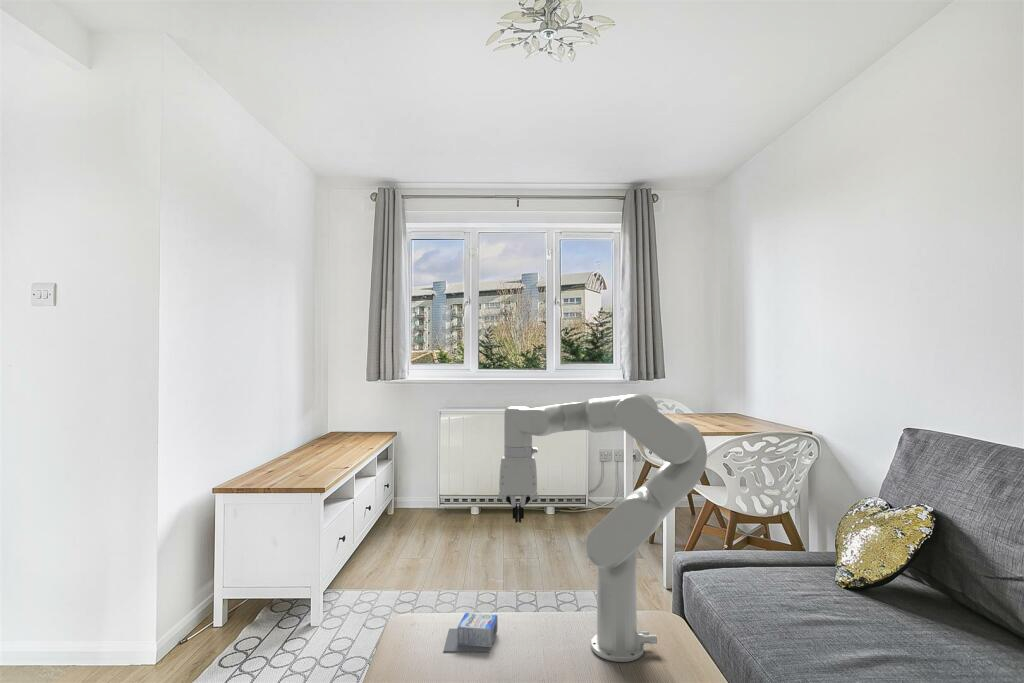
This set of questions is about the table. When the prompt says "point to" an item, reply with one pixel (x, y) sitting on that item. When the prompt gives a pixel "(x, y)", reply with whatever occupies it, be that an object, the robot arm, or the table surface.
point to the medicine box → (477, 630)
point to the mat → (453, 645)
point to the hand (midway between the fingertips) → (518, 521)
